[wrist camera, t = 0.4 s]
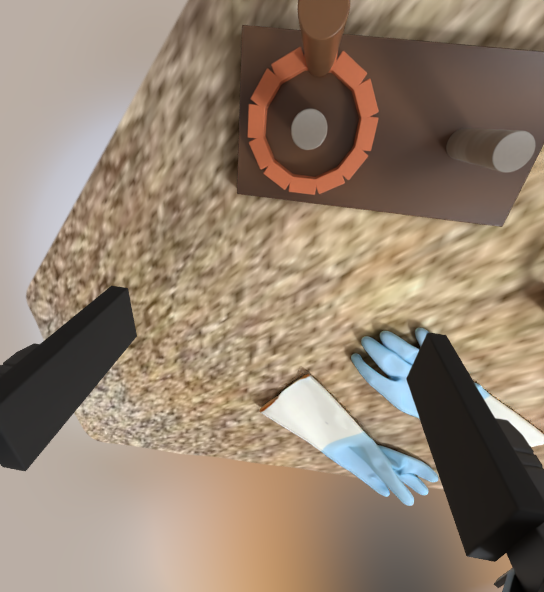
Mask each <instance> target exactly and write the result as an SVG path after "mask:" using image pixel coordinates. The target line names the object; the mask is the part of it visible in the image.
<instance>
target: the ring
mask: <svg viewBox="0 0 544 592" xmlns="http://www.w3.org/2000/svg"><path fill="white" fill-rule="evenodd" d="M349 10H350V0H298V19H299V24H300V30H301V36H302V42H303V47H304V53H305V54H304V55H303V52H302V49H301V47H298V48H297V49H295V50H294V51H292V52H290V53H289V54H287V55H285V56H284V57H282V58H280V59H279V60H277V61H275V62H274V63H272V64H271V65H272V68H273V71H274V73H275V74H274V73H273V72H271V71H270V70H269V69H268V68H267V70H266V71H265V73H264V75H263V77H262V79H261V80H260V82H259V84H258V86H257V88H256V90H255V91H254V93H253V95H252V97H251V100H252V101H254V102H255V103H256V104H257V105H254V104H249V115H248V138H256V139H254V140H252V141H250V142H249V145H250V147H251V149H252V151H253V154H254V156H255V158H256V161H257V163H258V165H259V167H260V169H263V168H265V167H267V168H266V170H265V171H264V174H265V175H266V176H267V177H269V178H270V179H271V180H272V181H274V182H275V183H276V184H278V185H279V186H280V187H281V188H283V189H284V190H285V189H286V188H287V186H288V185H289V192H296V193H304V194H312V195H315V191H316V188H317V190H318V193H319V194H321V193H323V192H325V191H328V190H330V189H332V188H335V187H337V186H339V185H342V184H344V183H345V182H344V179H343V176H344V177H345V178H346V179H348V180H349V179H350V178H351V177H352V176H353V174H354V173H355V172H356V171H357V169H358V168H359V167H360V166H361V165H362V163H363V162H364V161H365V160H366V158H367V157H368V155H367V154H366V153H365V152H364V151H371V149H372V144H373V140H374V136H375V132H376V127H377V123H378V119H379V118H378V117H370V116H372V115H374V114H376V113H378V107H377V103H376V99H375V95H374V91H373V87H372V83H371V79H367V80H365V81H364V82H362V81H363V79H364V78H365V76H366V75H367V72H366V71H365V70H364V69H363V68H361V67H360V66H359V65H358V64H357V63H356V62H355V61H354V60H353V59H352V58H351V57H350V56H349V55H348V54H347V53H346V52H344V51H342V53H341V54H340V56H339V57H338V59H337V54H338V47H339V44H340V41H341V37H342V34H343V31H344V28H345V24H346V21H347V18H348V14H349ZM305 70H306V71H309V72H310V73H311V74H312V75H314V76H317V77H321V76H324V75H326V74H327V73H332V74H333V75H335V76H336V77H337V78H338V79H339V80H340V81H341V82H342V83H343V84H344V85H346V86H347V87H348V88H349V89H350V90H351V91H352V94H353V98H354V101H355V105H356V109H357V112H358V116H359V122H358V127H357V131H356V136H355V141H354V146H353V147H352V149H351V150H350V151H349V152H348V154H347V155H346V156H345V158H344V159H343V160H342V161H341V163H340V164H339V165H338V167H336V168H334V169H332V170H329V171H327V172H325V173H323V174H321V175H318V176H316V177H313V176H304V175H296V174H292V173H291V172H290V171H289V170H287V169H286V168H285V167H284V166H282V165H281V164H280V163H279V162H277V161H276V160H275V158H274V156H273V154H272V151H271V149H270V146H269V144H268V141H267V139H266V137H265V135H266V121H267V109H268V107H269V105H270V103H271V102H272V100H273V98H274V97H275V95H276V93H277V91H278V90H279V88H280V86H281V85H282V84H283V83H285V82H286V81H288V80H290V79H292V78H293V77H295V76H297V75H298V74H300V73H302V72H304V71H305ZM361 82H362V83H361ZM362 150H364V151H362ZM342 175H343V176H342Z"/></svg>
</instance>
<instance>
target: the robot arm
mask: <svg viewBox="0 0 544 592" xmlns="http://www.w3.org/2000/svg"><path fill="white" fill-rule="evenodd" d="M136 337H137V334H136V329H135V324H134V318H133V313H132V308H131V302H130V297H129V292H128V288H123V287H117V286H111V287H109V288H108V289H107V290H106V291H105V292H103V293H102V294H101V295H100V296H98V297H97V298H96V299H95V300H94V301H92V302H91V303H90V304H89V305H87V306H86V307H85V308H84V309H83V310H81V311H80V312H79V313H78V314H76V315H75V316H74V317H73V318H72V319H70V320H69V321H68V322H67V323H65V324H64V325H63V326H62V327H61V328H59V329H58V330H57V331H56V332H54V333H53V334H52V335H51V336H50V337H48V338H47V339H46V340H45V341H43V342H42V343H41V344H32V345H30V346H28V347H26V348H24V349H22V350H20V351H18V352H16V353H15V354H14V355H13V356H11V357H10V358H9V359H8V360H6V361H5V362H4V363H3V365H0V464H1V466H3V467H6V468H11V469H16V470H21V471H26V470H27V469H28V468H29V467H30V465H31V464H32V463H33V462H34V460H35V459H36V458H37V457H38V456H39V454H40V453H41V452H42V451H43V450H44V448H45V447H46V446H47V445H48V443H49V442H50V441H51V440H52V439H53V437H54V436H55V435H56V434H57V433H58V431H59V430H60V429H61V428H62V426H63V425H64V424H65V423H66V421H67V420H68V419H69V418H70V417H71V416H72V414H73V413H74V412H75V411H76V409H77V408H78V407H79V406H80V405H81V403H82V402H83V401H84V400H85V399H86V397H87V396H88V395H89V394H90V392H91V391H92V390H93V389H94V388H95V386H96V385H97V384H98V383H99V382H100V380H101V379H102V378H103V377H104V375H105V374H106V373H107V372H108V371H109V369H110V368H111V367H112V366H113V365H114V363H115V362H116V361H117V360H118V358H119V357H120V356H121V355H122V354H123V352H124V351H125V350H126V349H127V348H128V346H129V345H130V344H131V343H132V341H133V340H134V339H135V338H136ZM406 380H407V383H408V386H409V389H410V392H411V395H412V398H413V401H414V403H415V406H416V409H417V412H418V415H419V418H420V421H421V424H422V427H423V430H424V433H425V436H426V439H427V442H428V444H429V447H430V450H431V453H432V456H433V459H434V462H435V465H436V468H437V471H438V474H439V477H440V480H441V483H442V485H443V488H444V491H445V494H446V497H447V500H448V503H449V506H450V509H451V512H452V515H453V518H454V521H455V524H456V526H457V529H458V532H459V535H460V538H461V541H462V544H463V547H464V550H465V553H466V556H469V557H473V558H479V559H483V560H489V561H494V562H495V561H497V560H498V559H499V558H500V557H501V556H503V555H504V554H505V553H507V555H508V558H509V560H510V562H511V565H512V567H513V568H511V569H510V570H509V571H507V572H506V573H505V574H503V575H502V576H501V577H499V578H498V579H497V580H496V582H495V583H494V585H495V586H496V587H498V588H499V587H501V586H502V585H504V588H503V591H502V592H544V469H543V468H542V464H541V462H540V461H539V459H538V458H537V456H536V455H534V454H533V452H534V451H533V450H532V448H531V447H530V445H529V444H528V442H527V441H526V439H525V438H524V436H523V435H522V434H521V433H520V432H519V431H518V430H517V429H516V428H515V427H514V426H513V425H512V424H511V423H510V422H509V421H508V420H504V419H498V418H495V417H494V415H493V414H492V412H491V410H490V409H489V407H488V405H487V403H486V402H485V400H484V398H483V397H482V395H481V393H480V392H479V390H478V388H477V387H476V385H475V383H474V382H473V380H472V378H471V376H470V375H469V373H468V371H467V370H466V368H465V366H464V365H463V363H462V361H461V360H460V358H459V356H458V355H457V353H456V351H455V349H454V348H453V346H452V344H451V343H450V341H449V339H448V338H447V336H446V335H441V334H434V333H428V332H427V334H426V337H425V339H424V341H423V343H422V345H421V347H420V350H419V352H418V354H417V356H416V358H415V360H414V363H413V365H412V367H411V369H410V371H409V374H408V376H407V378H406Z"/></svg>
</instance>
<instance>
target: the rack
mask: <svg viewBox="0 0 544 592" xmlns="http://www.w3.org/2000/svg"><path fill="white" fill-rule="evenodd" d="M298 47H301V49H302V52H303V55H304V54H305V53H304V47H303V42H302V36H301V30H294V29H283V28H271V27H260V26H249V25H242V48H241V81H240V114H239V147H238V179H237V194H243V195H251V196H259V197H267V198H275V199H283V200H291V201H299V202H307V203H315V204H323V205H331V206H339V207H347V208H355V209H363V210H371V211H379V212H387V213H396V214H404V215H412V216H420V217H428V218H436V219H444V220H452V221H460V222H468V223H476V224H484V225H492V226H500V227H502V226H503V224H504V222H505V220H506V218H507V216H508V214H509V212H510V210H511V208H512V206H513V204H514V202H515V200H516V198H517V196H518V194H519V192H520V190H521V188H522V186H523V185H524V183H525V181H526V179H527V177H528V175H529V173H530V171H531V169H532V167H533V165H534V163H535V161H536V159H537V157H538V155H539V153H540V151H541V149H542V147H543V145H544V52H543V51H531V50H520V49H509V48H497V47H486V46H475V45H463V44H452V43H441V42H430V41H418V40H407V39H396V38H384V37H373V36H362V35H350V34H342V37H341V41H340V44H339V47H338V54H337V59H338V57H339V56H340V54H341V53H342V51H344V52H346V53H347V54H348V55H349V56H350V57H351V58H352V59H353V60H354V61H355V62H356V63H357V64H358V65H359V66H360V67H361V68H363V69H364V70H365V71H366V72H367V75H366V76H365V78H364V79H363V81H362V82H364V81H365V80H367V79H371V83H372V87H373V91H374V95H375V99H376V103H377V107H378V113H376V114H374V115H372V116H370V117H378V118H379V119H378V123H377V127H376V132H375V136H374V140H373V144H372V149H371V151H364V150H362V151H364V152H365V153H366V154H367V155H368V157H367V158H366V160H365V161H364V162H363V163H362V165H361V166H360V167H359V168H358V169H357V171H356V172H355V173H354V174H353V176H352V177H351V178H350V179H349V180H348V179H346V178H345V177H344V176H343V175H342V176H343V179H344V182H345V183H344V184H342V185H339V186H337V187H335V188H332V189H330V190H328V191H325V192H323V193H321V194H319V193H318V190H317V188H316V191H315V195H312V194H304V193H296V192H289V185H288V186H287V188H286V189H285V190H284V189H283V188H281V187H280V186H279V185H278V184H276V183H275V182H274V181H272V180H271V179H270V178H269V177H267V176H266V175H265V174H264V171H265V170H266V168H267V167H265V168H263V169H260V167H259V165H258V163H257V161H256V158H255V156H254V154H253V151H252V149H251V147H250V145H249V142H250V141H252V140H254V139H256V138H248V115H249V104H254V105H257V104H256V103H255V102H254V101H252V100H251V97H252V95H253V93H254V91H255V90H256V88H257V86H258V84H259V82H260V80H261V79H262V77H263V75H264V73H265V71H266V70H267V68H268V69H269V70H270V71H271V72H273V73H274V71H273V68H272V65H271V64H272V63H274V62H275V61H277V60H279V59H280V58H282V57H284V56H285V55H287V54H289V53H290V52H292V51H294V50H295V49H297V48H298ZM274 74H275V73H274ZM362 82H361V83H362ZM358 122H359V116H358V112H357V109H356V105H355V101H354V98H353V94H352V91H351V90H350V89H349V88H348V87H347V86H346V85H344V84H343V83H342V82H341V81H340V80H339V79H338V78H337V77H336V76H335V75H333V74H332V73H327V74H326V75H324V76H321V77H317V76H314V75H312V74H311V73H310V72H309V71H306V70H305V71H304V72H302V73H300V74H298V75H297V76H295V77H293V78H292V79H290V80H288V81H286V82H285V83H283V84H282V85H281V86H280V88H279V90H278V91H277V93H276V95H275V97H274V98H273V100H272V102H271V103H270V105H269V107H268V109H267V121H266V135H265V137H266V139H267V141H268V144H269V146H270V149H271V151H272V154H273V156H274V158H275V160H276V161H277V162H279V163H280V164H281V165H282V166H284V167H285V168H286V169H287V170H289V171H290V172H291V173H292V174H296V175H304V176H313V177H316V176H318V175H321V174H323V173H325V172H327V171H329V170H332V169H334V168H336V167H338V165H339V164H340V163H341V161H342V160H343V159H344V158H345V156H346V155H347V154H348V152H349V151H350V150H351V149H352V147H353V146H354V141H355V136H356V131H357V127H358Z"/></svg>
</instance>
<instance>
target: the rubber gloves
mask: <svg viewBox="0 0 544 592" xmlns="http://www.w3.org/2000/svg"><path fill="white" fill-rule="evenodd" d="M427 332H428V331H427V330H425V329H424V328H417V329H416V330H415V336H416V339H417V341H418V343H419V345H420V347H421V345H422V343H423V341H424V339H425V337H426V334H427ZM428 333H429V332H428ZM380 339H381V341H382V343H383V345H382V344H380V343H379V342H377V341H376V340H374V339H373V338H371V337H368V336H365V337H363V338H362V340H361V343H362V346H363V347H364V349H365V350H366V352H367V353H368V354H369V355H370V357H371V358H372V359H373V360H374V361H375V363H376V364H377V365H378V366H379V367H380V368H381V370H382V371H383V372H384V373H385V374H386V375H387V376H388V377H389V379H388V378H386V377H384V376H382V375H381V374H379V373H378V372H376V371H375V370H374V369H372V368H371V367H370V366H369V365H367V364H366V363H365V362H364V361H363V359H362V357H361V356H360V355H359V354H357V353H354V354H353V355H352V356H351V360H352V362H353V363H354V365H355V367H356V368H357V370H358V371H359V373H360V374H361V375H362V376H363V378H364V379H365V380H366V381H367V382H368V383H369V384H370V385H371V386H372V387H373V388H374V389H375V390H377V391H378V392H379V393H380V394H381V395H383V396H384V397H385V398H386V399H387V400H388V401H389V402H390V403H391V404H393V405H394V406H395V407H396V408H398V409H399V410H401V411H402V412H404V413H407V414H409V415H411V416H414V417H417V418H419V415H418V412H417V409H416V406H415V403H414V401H413V398H412V395H411V392H410V389H409V386H408V383H407V380H406V378H407V376H408V374H409V371H410V369H411V367H412V365H413V363H414V360H415V358H416V356H417V354H418V352H419V349H417V348H416V347H414V346H412V345H410V344H409V343H407V342H406V341H404V340H403V339H401V338H400V337H398V336H397V335H395V334H393V333H392V332H389V331H382V332H381V333H380ZM475 385H476V387H477V388H478V390H479V392H480V393H481V395H482V397H483V398H484V400H485V402H486V403H487V405H488V407H489V409H490V410H491V412H492V414H493V415H494V417H495V418H498V419H504V420H508V421H509V422H510V423H511V424H512V425H513V426H514V427H515V428H516V429H517V430H518V431H519V432H520V433H521V434H522V435H523V436H524V438H525V439H526V441H527V442H528V444H529V445H530V447H532V446H537V445H543V444H544V434H543V433H542V432H540V431H539V430H538V429H537V428H535V427H534V426H533V425H531V424H530V423H529V422H527V421H526V420H525V419H523V418H522V417H521V416H519V415H518V414H517V413H515V412H514V411H513V410H511V409H510V408H508V407H507V406H506V405H504V404H503V403H501V402H500V401H498V400H497V399H495V398H494V397H493V396H491V395H490V394H489V393H488V392H487V391H485V390H484V389H483V388H482V387H481V385H479V384H477V383H475ZM260 413H262V414H264V415H265V416H267V417H268V418H270V419H271V420H273V421H274V422H276V423H278V424H279V425H281V426H282V427H284V428H286V429H287V430H289V431H291V432H292V433H294V434H296V435H297V436H299V437H300V438H302V439H304V440H305V441H307V442H308V443H310V444H311V445H312V446H314V447H315V448H317V449H318V450H320V451H321V452H322V453H324V454H325V455H326V456H327V457H329V458H330V459H332V460H333V461H334V462H336V463H337V464H339V465H340V466H342V467H344V468H345V469H347V470H349V471H350V472H351V473H353V474H354V475H355V476H357V477H358V478H359V479H361V480H362V481H363V482H365V483H366V484H367V485H369V486H370V487H371V488H372V489H374V490H375V491H376V492H378V493H379V494H381V495H383V496H386V497H387V496H389V494H390V492H389V489H390V490H391V491H392V492H393V493H394V494H395V495H396V496H397V497H398V498H399V499H400V500H401V501H402V502H403V503H404V504H405V505H408V506H411V505H413V503H414V498H413V496H412V494H411V493H410V491H409V490H408V489H407V487H406V486H405V485H404V484H403V483H405V484H406V485H408V486H409V487H411V488H412V489H413V490H415V491H416V492H417V493H419V494H421V495H426V494H428V488H427V487H426V485H425V484H424V483H423V482H422V481H421V480H420V479H419V478H418V477H417V476H419V477H422V478H424V479H426V480H427V481H430V482H436V481H438V475H437V474H436V473H435V472H434V471H433V470H432V469H431V468H430V467H429V466H428V465H427V464H425V463H424V462H422V461H420V460H418V459H416V458H413V457H411V456H408V455H405V454H402V453H400V452H397V451H395V450H392V449H389V448H387V447H384V446H380V445H377V444H376V443H375V442H374V441H373V440H372V439H371V438H370V437H369V436H368V435H367V434H366V433H365V432H364V431H363V430H362V429H361V428H360V426H359V425H358V424H357V423H356V422H355V420H354V419H353V418H352V417H351V416H350V415H349V414H348V413H347V412H346V410H345V409H344V408H343V407H342V406H341V405H340V404H339V403H338V402H337V401H336V400H335V399H334V398H333V397H332V395H331V394H330V393H329V392H328V391H327V390H326V389H325V388H324V387H323V386H322V385H321V384H320V383H319V382H317V381H316V380H315V379H314V378H313V377H312V376H311V375H310V374H307V375H304V376H303V377H302V378H300V379H299V380H296V382H295V383H292V385H290V386H289V387H288V388H286V389H284V391H282V392H281V394H279V396H276V398H273V399H272V400H270V401H269V402H268V403H266V404H265V405H264V406H263V407H262V408H261V409H260ZM419 419H420V418H419ZM414 474H415V475H417V476H415V475H414ZM386 485H387V486H386ZM388 488H389V489H388Z"/></svg>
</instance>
